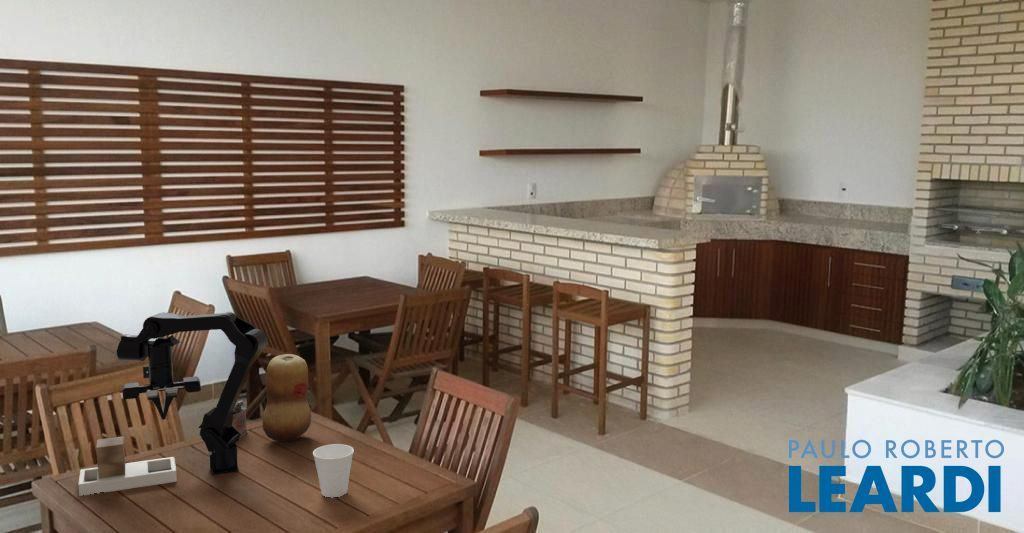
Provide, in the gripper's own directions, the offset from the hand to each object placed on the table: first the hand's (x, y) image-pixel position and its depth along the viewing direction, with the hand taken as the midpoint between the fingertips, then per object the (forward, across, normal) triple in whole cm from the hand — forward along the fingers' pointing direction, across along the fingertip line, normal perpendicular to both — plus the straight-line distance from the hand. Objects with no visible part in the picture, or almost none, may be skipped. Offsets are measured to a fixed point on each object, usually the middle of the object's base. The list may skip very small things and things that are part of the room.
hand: (163, 419), depth 218 cm
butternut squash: (+13, -33, -7) cm, 36 cm away
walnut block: (+10, +13, +7) cm, 18 cm away
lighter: (+13, -20, -16) cm, 29 cm away
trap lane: (+13, +9, +7) cm, 17 cm away
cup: (+13, -37, +35) cm, 53 cm away
